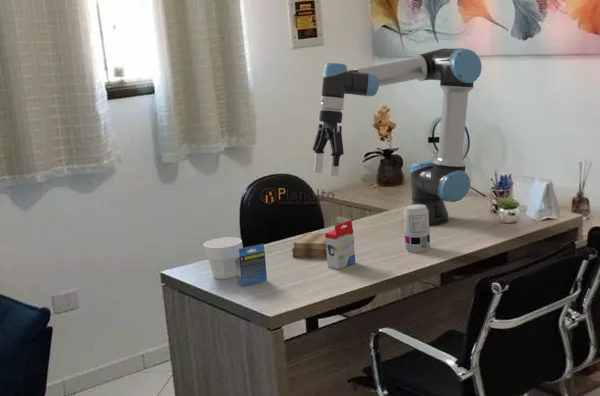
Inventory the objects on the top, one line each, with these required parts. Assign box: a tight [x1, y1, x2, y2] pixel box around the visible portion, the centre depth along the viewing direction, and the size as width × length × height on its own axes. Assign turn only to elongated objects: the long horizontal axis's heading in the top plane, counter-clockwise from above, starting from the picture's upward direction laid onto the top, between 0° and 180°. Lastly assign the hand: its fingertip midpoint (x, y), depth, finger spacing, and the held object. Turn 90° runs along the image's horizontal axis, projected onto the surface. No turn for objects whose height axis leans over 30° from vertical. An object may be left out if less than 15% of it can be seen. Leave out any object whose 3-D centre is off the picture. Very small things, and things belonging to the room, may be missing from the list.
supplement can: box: [403, 203, 431, 254], centre depth 271 cm, size 8×8×15 cm
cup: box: [203, 236, 243, 280], centre depth 261 cm, size 12×12×11 cm
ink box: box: [324, 219, 356, 270], centre depth 261 cm, size 8×5×15 cm, turn 135°
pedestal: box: [291, 232, 327, 259], centre depth 278 cm, size 13×13×5 cm
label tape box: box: [235, 243, 268, 288], centre depth 251 cm, size 9×4×12 cm, turn 118°
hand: (325, 174), depth 269 cm, fingers open, 13 cm apart
